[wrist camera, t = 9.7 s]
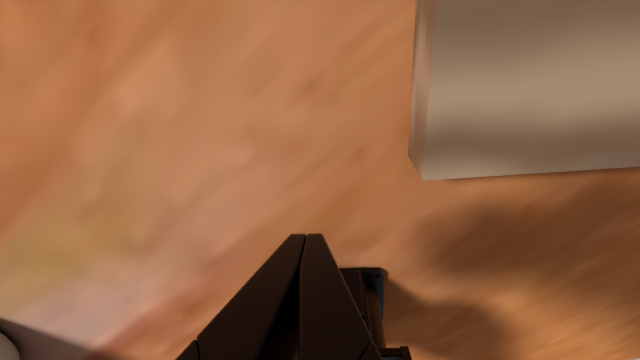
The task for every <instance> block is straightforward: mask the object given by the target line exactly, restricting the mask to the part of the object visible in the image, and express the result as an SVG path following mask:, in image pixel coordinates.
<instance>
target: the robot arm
mask: <svg viewBox="0 0 640 360" xmlns="http://www.w3.org/2000/svg"><path fill="white" fill-rule="evenodd" d="M376 274H377V275H376ZM382 318H383V273H382V270H381V269H379V268H368V269H339V268H338V266H337V264H336V262H335V259H334V257H333V255H332V253H331V251H330V249H329V247H328V245H327V243H326V241H325V239H324V236H323V235H322V234H320V233H315V234H307V236H306V234H291V235H290V236H289V237H288V238H287V239H286V240H285V241H284V242H283V243H282V244H281V245H280V246H279V248H278V249H277V250H276V251H275V252H274V253H273V254H272V255H271V256H270V257H269V258H268V260H267V261H266V262H265V263H264V264H263V265H262V266H261V267H260V268H259V269H258V270H257V272H256V273H255V274H254V275H253V276H252V277H251V278H250V279H249V280H248V281H247V282H246V284H245V285H244V286H243V287H242V288H241V289H240V290H239V291H238V292H237V293H236V294H235V296H234V297H233V298H232V299H231V300H230V301H229V302H228V303H227V304H226V305H225V306H224V307H223V309H222V310H221V311H220V312H219V313H218V314H217V315H216V316H215V317H214V318H213V319H212V321H211V322H210V323H209V324H208V325H207V326H206V327H205V328H204V329H203V330H202V331H201V333H200V334H199V335H198V336H197V340H193V341H192V342H191V343H190V344H189V345H188V347H187V348H186V349H185V350H184V351H183V352H182V353H181V354H180V355H179V356H178V357H177V358H176V359H175V360H412V359H411V355H410V352H409V348H408V346H400V348H386V344H385V338H384V331H383V325H382Z"/></svg>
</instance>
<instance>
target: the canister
mask: <svg viewBox="0 0 640 360" xmlns="http://www.w3.org/2000/svg"><path fill="white" fill-rule="evenodd" d="M0 360H20V356H19V352H18V350H17V349H16V346H15V345H14V344H12V342H11V341H10V340H9V339H8V338H7V337H6V336H5V335H3V334H2V333H1V332H0Z"/></svg>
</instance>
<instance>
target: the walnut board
mask: <svg viewBox="0 0 640 360" xmlns="http://www.w3.org/2000/svg"><path fill="white" fill-rule="evenodd" d="M408 156H409V157H410V159H411V161H412V163H413V165H414V166H415V168H416V170H417V172H418V174H419V176H420V177H421V179H422V181H425V180H440V179H456V178H471V177H487V176H502V175H518V174H533V173H549V172H564V171H580V170H596V169H611V168H627V167H640V0H416V17H415V36H414V56H413V75H412V95H411V115H410V134H409V154H408Z"/></svg>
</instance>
